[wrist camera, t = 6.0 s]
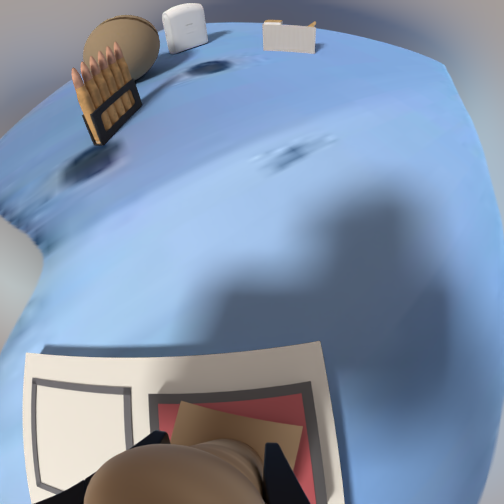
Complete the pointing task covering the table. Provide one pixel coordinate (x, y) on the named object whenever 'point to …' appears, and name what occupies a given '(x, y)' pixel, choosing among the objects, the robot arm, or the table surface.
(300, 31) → the model
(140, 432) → the stamping board
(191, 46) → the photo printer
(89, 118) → the ammunition clip
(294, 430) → the stamp
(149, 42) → the brown grooved ball
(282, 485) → the robot arm
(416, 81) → the table surface
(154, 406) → the ink pad
